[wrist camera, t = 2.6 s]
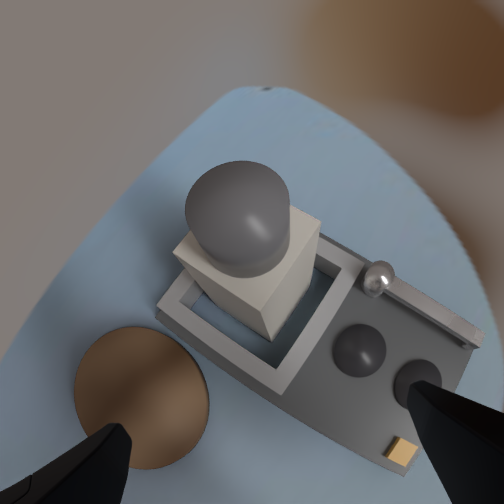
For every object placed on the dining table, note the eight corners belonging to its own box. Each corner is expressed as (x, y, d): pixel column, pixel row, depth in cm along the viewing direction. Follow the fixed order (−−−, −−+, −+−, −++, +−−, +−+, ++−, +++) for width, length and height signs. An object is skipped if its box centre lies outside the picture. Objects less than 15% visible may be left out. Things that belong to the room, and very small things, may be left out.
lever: (463, 338, 21) (490, 327, 17) (455, 358, 20) (481, 351, 17) (363, 276, 24) (375, 255, 20) (352, 295, 23) (363, 278, 20)
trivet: (239, 387, 21) (237, 388, 20) (156, 492, 18) (150, 496, 17) (130, 303, 25) (124, 299, 24) (62, 400, 22) (54, 400, 21)
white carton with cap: (309, 286, 24) (327, 184, 12) (271, 342, 23) (252, 290, 11) (254, 253, 26) (224, 136, 14) (216, 305, 24) (148, 222, 12)
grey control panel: (471, 334, 21) (487, 327, 18) (397, 472, 17) (408, 480, 15) (252, 205, 27) (248, 187, 25) (162, 322, 24) (149, 314, 22)
